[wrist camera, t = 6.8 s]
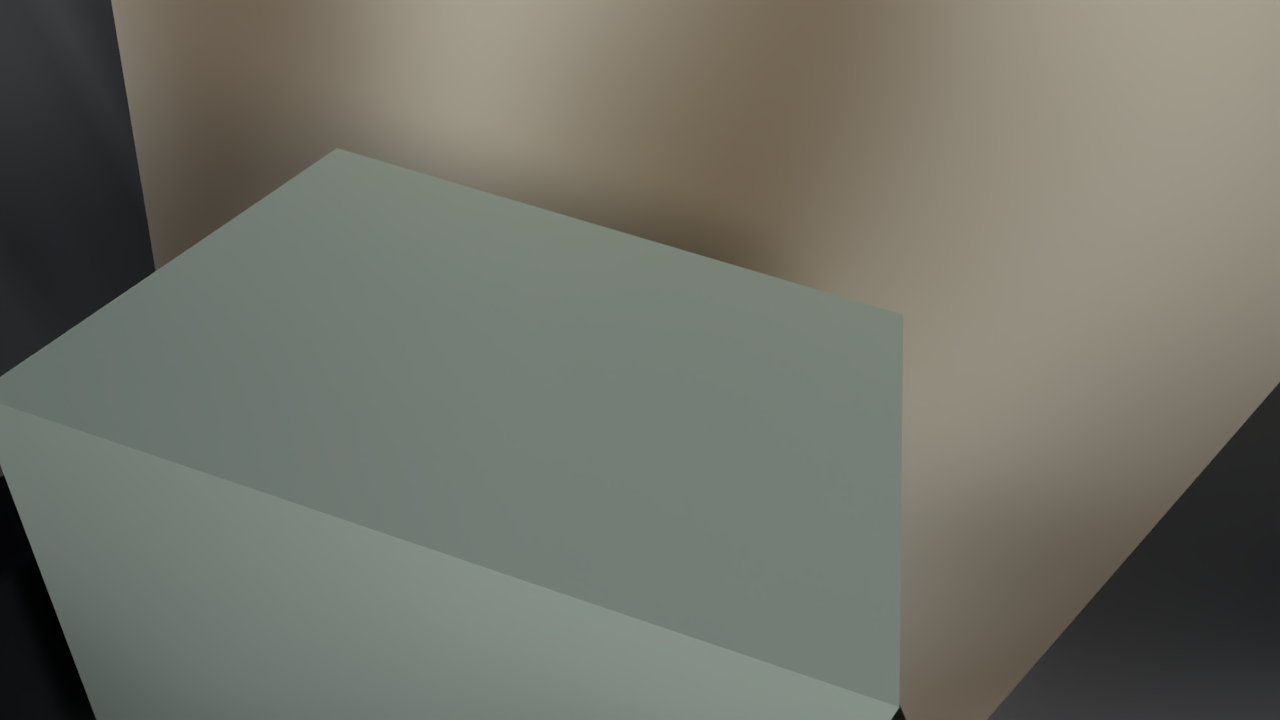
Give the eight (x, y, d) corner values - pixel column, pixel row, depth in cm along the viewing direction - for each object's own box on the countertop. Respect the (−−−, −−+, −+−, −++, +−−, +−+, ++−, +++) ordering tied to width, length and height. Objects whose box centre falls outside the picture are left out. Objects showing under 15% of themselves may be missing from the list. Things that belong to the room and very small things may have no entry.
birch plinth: (261, 451, 18) (196, 520, 16) (179, -481, 9) (22, -533, 8) (927, 686, 16) (928, 785, 15) (1540, -127, 8) (1696, -99, 6)
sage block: (349, 529, 11) (135, 823, 8) (337, 147, 8) (-27, 396, 5) (745, 663, 11) (679, 1032, 8) (903, 315, 8) (900, 708, 4)
